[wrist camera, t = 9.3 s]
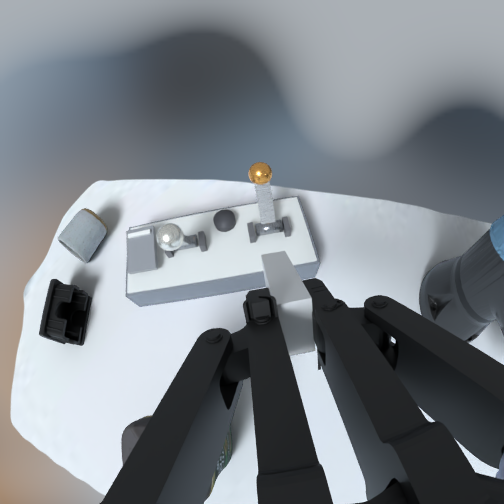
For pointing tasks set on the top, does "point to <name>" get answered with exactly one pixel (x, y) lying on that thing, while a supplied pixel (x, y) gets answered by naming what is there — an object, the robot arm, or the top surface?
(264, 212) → the lever orange
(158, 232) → the silver ball lever
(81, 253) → the ceramic mug
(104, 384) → the top surface
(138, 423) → the coffee jar
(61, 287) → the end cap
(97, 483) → the top surface
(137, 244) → the rocker grey
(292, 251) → the console
